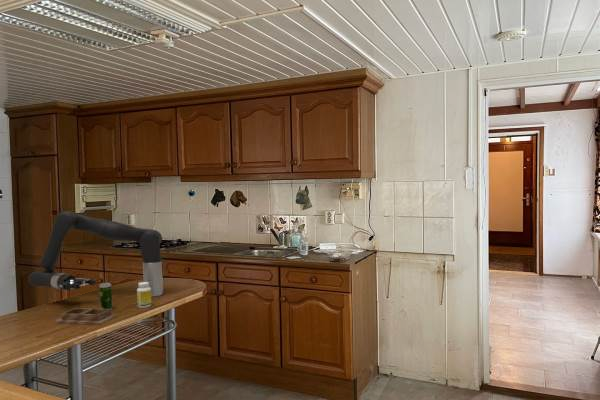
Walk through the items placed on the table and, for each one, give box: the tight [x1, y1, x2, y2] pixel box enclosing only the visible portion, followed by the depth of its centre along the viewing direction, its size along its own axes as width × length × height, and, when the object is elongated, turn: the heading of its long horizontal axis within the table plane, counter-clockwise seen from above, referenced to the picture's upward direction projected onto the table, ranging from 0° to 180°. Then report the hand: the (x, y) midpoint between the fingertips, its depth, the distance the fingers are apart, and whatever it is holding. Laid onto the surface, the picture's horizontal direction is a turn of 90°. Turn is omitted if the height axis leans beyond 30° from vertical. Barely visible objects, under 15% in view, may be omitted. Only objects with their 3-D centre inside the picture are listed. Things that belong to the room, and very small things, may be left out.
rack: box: [54, 307, 118, 326], centre depth 189 cm, size 21×12×4 cm, turn 81°
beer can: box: [98, 282, 114, 311], centre depth 203 cm, size 5×5×12 cm
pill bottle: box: [136, 281, 152, 309], centre depth 207 cm, size 6×6×11 cm
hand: (87, 284), depth 207 cm, fingers open, 8 cm apart
